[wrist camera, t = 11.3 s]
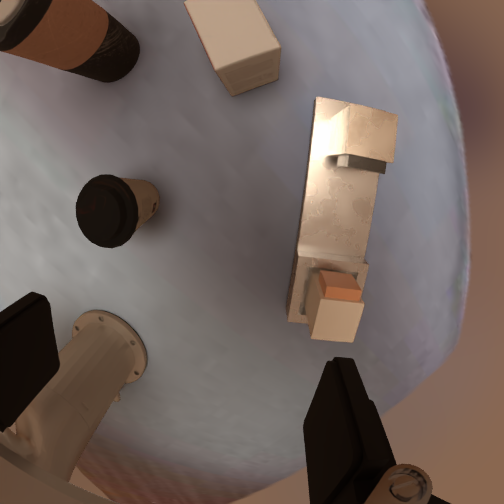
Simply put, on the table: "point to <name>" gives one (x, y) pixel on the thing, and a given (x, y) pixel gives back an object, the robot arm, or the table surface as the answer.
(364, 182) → the rail
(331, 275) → the beige orange block
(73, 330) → the robot arm
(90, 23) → the travel mug
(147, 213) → the coffee cup
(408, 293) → the table surface
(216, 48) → the small box
